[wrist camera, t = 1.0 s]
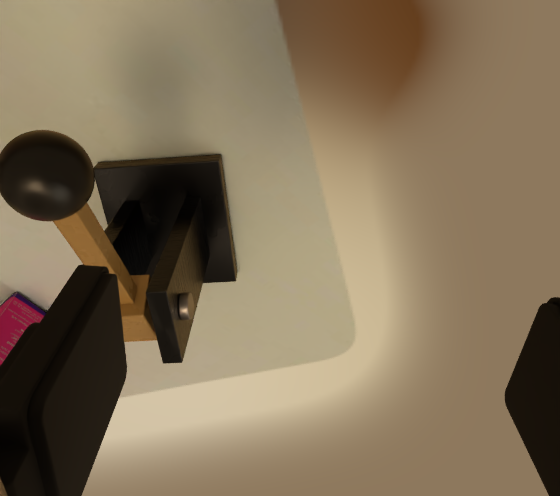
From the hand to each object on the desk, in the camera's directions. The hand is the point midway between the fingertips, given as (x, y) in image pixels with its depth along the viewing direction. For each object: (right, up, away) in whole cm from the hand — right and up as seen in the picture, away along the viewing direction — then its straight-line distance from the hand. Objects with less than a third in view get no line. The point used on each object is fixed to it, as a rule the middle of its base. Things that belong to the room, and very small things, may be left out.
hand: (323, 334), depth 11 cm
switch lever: (-9, +3, +12) cm, 15 cm away
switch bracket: (-8, +4, +24) cm, 25 cm away
